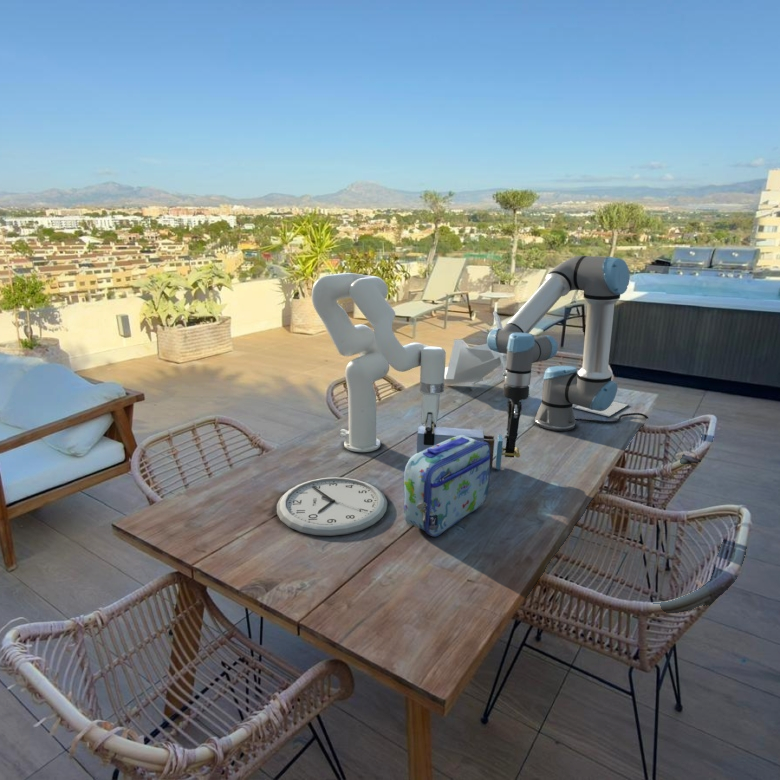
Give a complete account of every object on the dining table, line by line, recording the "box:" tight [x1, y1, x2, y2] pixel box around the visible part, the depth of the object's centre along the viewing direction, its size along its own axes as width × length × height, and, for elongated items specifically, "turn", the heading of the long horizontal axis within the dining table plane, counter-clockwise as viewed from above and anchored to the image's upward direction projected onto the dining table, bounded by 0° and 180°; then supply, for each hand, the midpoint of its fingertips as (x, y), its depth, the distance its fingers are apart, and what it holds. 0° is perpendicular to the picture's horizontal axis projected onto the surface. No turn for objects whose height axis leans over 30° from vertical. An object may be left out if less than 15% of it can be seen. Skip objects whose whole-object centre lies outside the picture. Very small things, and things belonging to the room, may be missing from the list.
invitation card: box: [573, 400, 629, 418], centre depth 226 cm, size 21×1×15 cm
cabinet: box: [416, 425, 485, 454], centre depth 167 cm, size 20×7×11 cm, turn 82°
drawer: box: [484, 434, 521, 470], centre depth 166 cm, size 25×5×10 cm, turn 82°
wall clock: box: [276, 476, 388, 537], centre depth 142 cm, size 30×2×30 cm
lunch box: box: [403, 435, 491, 538], centre depth 134 cm, size 26×11×21 cm, turn 134°
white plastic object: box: [444, 310, 531, 397], centre depth 245 cm, size 37×45×31 cm
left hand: (429, 439), depth 167 cm, fingers closed on cabinet, 6 cm apart
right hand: (509, 456), depth 165 cm, fingers closed
